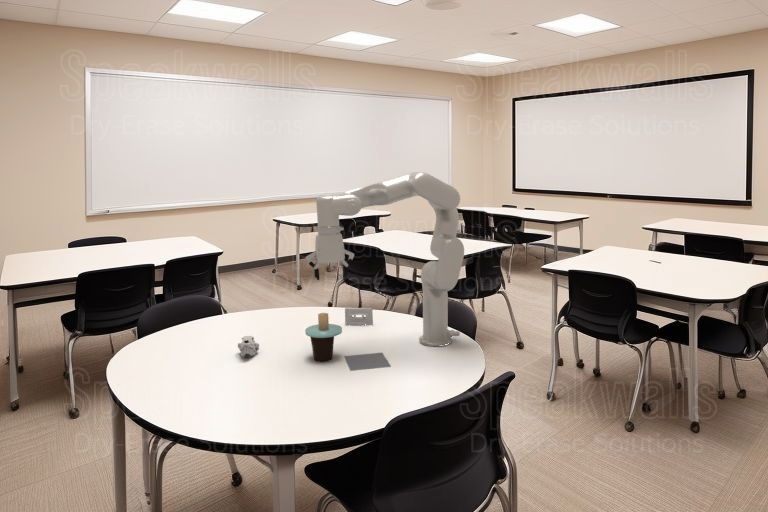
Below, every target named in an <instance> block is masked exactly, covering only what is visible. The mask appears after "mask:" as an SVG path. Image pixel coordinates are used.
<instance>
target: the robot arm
mask: <svg viewBox="0 0 768 512" xmlns="http://www.w3.org/2000/svg"><path fill="white" fill-rule="evenodd" d="M413 197H421V198H423V200H424V199H425V200H426V201H428V204H429V205H430V206H431V207H432V209H433V211H434V213H435V223H434V224H435V225H434V230H433V233H432V239H431V241H430V246H429V247H430V249H429V250H430V253H431V254H432V256H434V257H435V258H437V260H431V261H428V262H426V263H424V265H423V266H422V269H421V272H420V279H421V281H420V282H421V286H422V335H421V336H420V337H418V342H419V343H420V344H421V343H422V345H423V344H424V346H427V345H430V346H429V347H440V346H439V345H445V344H448V343H450V342H451V340H453V339H452V337H460V335H461V333H460V330H454V329H451V330H449V329H448V327H449V326H448V322H449V321H448V320H449V319H448V314H449V313H448V312H449V309H448V308H449V307H448V306H449V305H448V303H449V298H448V297H449V295H448V292H450V291H451V290H453V289H454V288H455V287H456V285H457V283H458V281H459V278H460V274H461V271H462V270H461V269H462V265H463V261H464V256H465V246H464V244H463V241H462V240H460V239H459V238H458V237H457V234H458V233H457V232H458V229H459V228H458V227H459V223H460V222H459V221H460V216H459V212H458V209H457V207H458V206H459V205H460V203H461V195H460V192H459V191H458V190H457V189H456V188H455V187H453V186H452V185H450V184H448V183H446V182H444V181H442V180H440V179H439V178H437V177H435V176H433V175H431V174H430V173H428V172H423V171H421V172H420V171H419V172H417V171H412V172H409V173H405V174H403V175H399V176H397V177H393V178H389V179H387V180H383V181H379V182H376V183H372V184H369V185H366V186H362V187H359V188H355V189H352V190H349V191H345V192H342V193H340V194H338V195H337V196H336V195H333V194H332V195H321V196H320V195H319V196H317V198H316V202H315V203H316V204H315V205H316V215H317V216H316V217H317V219H316V220H317V234H316V236H315V240H314V241H315V243H314V245H315V246H314V250H315V251H313V252H312V253H310V254H309V255H308V254H307V256H305V260H306V261H307V263H308V264H309V266H311V268H312V269H313V273H314V278H315V279H316V280H317V281H320V269H319V267H320V265H323V264H334V263H342V277H343V278H344V279H346V278H347V276H348V275H349V272H348V268H349V265H351V263H352V262H353V259H354V257H355V253H353V252H351V251H349V250H348V249H345V245H344V240H343V239H344V238H343V235H342V233H341V232H342V231H344V230H345V229H344V226H341V225H340V216H347V217H353V216H357V215H358V214H359V213H360V211H361V210H362V209H364V208H367V207H374V206H385V205H391V204H394V203H397V202H400V201H404V200H407V199H409V198H410V199H411V198H413ZM345 255H348V258H347V259H346V256H345ZM314 257H315V263H314V262H313V261H312V258H314ZM345 259H346V260H345ZM451 343H452V342H451ZM451 343H450V344H451ZM448 345H449V344H448ZM445 346H446V345H445Z"/></svg>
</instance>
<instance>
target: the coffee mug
mask: <svg viewBox="0 0 768 512" xmlns="http://www.w3.org/2000/svg"><path fill="white" fill-rule="evenodd" d="M309 338H310V343H311V349H312V356H313V360H314V361H315V362H316V363H317V362H318V363H326V362H330V361H331V360H332V359H333V353H334V342H335V336H333V337H328V338H314V337H310V336H309Z"/></svg>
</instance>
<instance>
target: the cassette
mask: <svg viewBox="0 0 768 512" xmlns="http://www.w3.org/2000/svg"><path fill="white" fill-rule="evenodd" d="M373 314H374V313H373V308H372V307H345V308H344V321H345V322H344V323H345V324H344V325H345V326H348V327H356V326H357V327H366V326H365V324H366V325H372V326H373V325H374V320H373V318H374V315H373ZM359 316H360V317H359ZM349 325H350V326H349ZM362 325H364V326H362Z"/></svg>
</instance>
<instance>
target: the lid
mask: <svg viewBox="0 0 768 512" xmlns="http://www.w3.org/2000/svg"><path fill="white" fill-rule="evenodd" d="M317 317H318V320H317V321H318V322H317V323H318V324H314V325H309V326H307V328H305V330H304V332H305V333H304V334H305V335H306V336H307V337H309V338H310V337H314V338H328V337H333V336H334V337H336V336H339V335H341V334H342V332H343V328H342V326H340V325H339V324H335V323H329V313H327V312H321V313H317Z"/></svg>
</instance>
